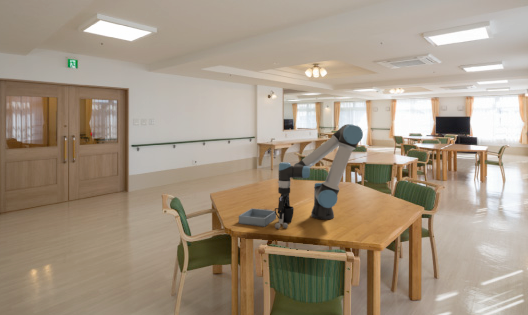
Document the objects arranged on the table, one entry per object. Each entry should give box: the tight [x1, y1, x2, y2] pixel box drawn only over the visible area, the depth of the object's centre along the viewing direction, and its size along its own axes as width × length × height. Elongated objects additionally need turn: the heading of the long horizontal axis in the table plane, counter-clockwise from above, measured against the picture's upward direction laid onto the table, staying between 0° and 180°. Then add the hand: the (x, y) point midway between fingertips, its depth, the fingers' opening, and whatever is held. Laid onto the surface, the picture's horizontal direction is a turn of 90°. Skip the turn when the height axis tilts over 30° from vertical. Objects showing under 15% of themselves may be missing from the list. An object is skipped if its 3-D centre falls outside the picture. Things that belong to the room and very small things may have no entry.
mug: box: [274, 205, 294, 224], centre depth 208 cm, size 8×12×10 cm
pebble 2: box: [282, 223, 289, 229], centre depth 195 cm, size 3×3×3 cm
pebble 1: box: [274, 222, 281, 230], centre depth 195 cm, size 3×3×3 cm
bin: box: [238, 207, 277, 228], centre depth 210 cm, size 18×20×5 cm
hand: (283, 221), depth 209 cm, fingers open, 9 cm apart
